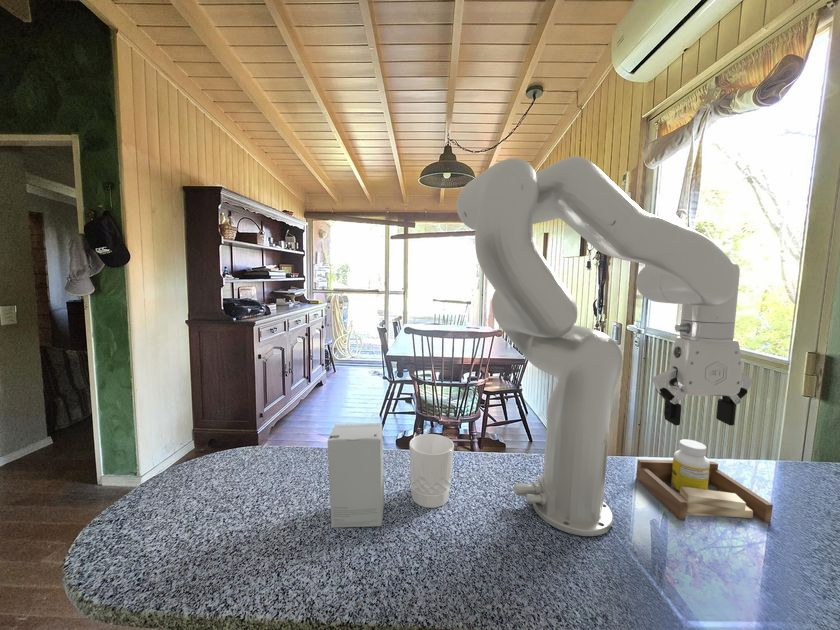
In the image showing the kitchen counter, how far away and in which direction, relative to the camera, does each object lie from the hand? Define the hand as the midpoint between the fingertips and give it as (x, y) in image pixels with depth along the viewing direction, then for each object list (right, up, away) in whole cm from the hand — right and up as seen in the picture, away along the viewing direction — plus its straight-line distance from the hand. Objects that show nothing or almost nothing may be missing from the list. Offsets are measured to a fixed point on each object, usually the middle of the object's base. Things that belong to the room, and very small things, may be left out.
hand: (698, 422), depth 66 cm
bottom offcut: (-1, -15, -4) cm, 16 cm away
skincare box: (-62, -13, -7) cm, 63 cm away
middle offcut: (-1, -14, -4) cm, 14 cm away
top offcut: (-1, -13, -4) cm, 13 cm away
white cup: (-50, -13, -2) cm, 51 cm away
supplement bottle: (-1, -14, +1) cm, 14 cm away
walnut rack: (-1, -14, -1) cm, 14 cm away
